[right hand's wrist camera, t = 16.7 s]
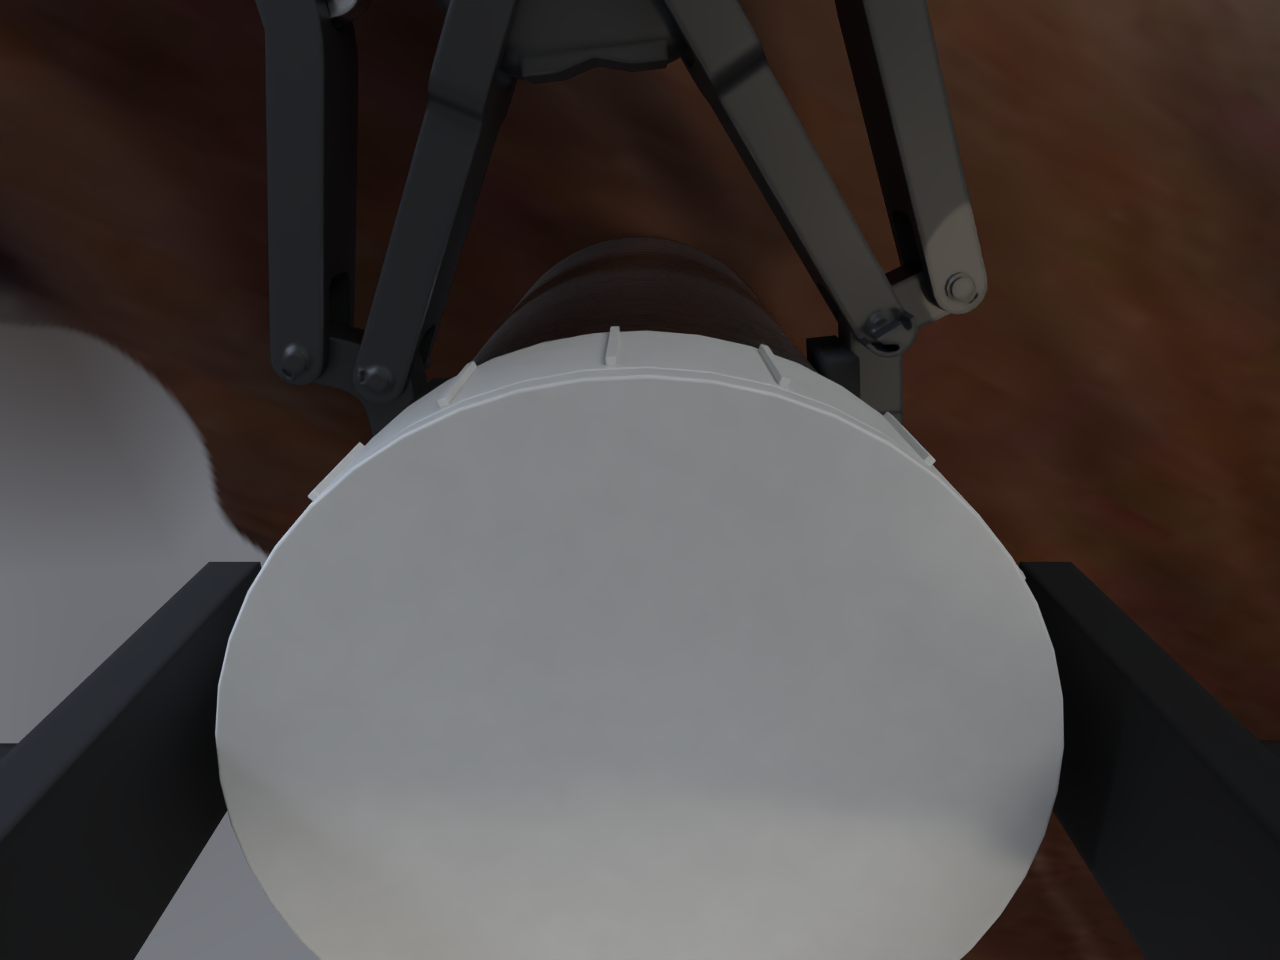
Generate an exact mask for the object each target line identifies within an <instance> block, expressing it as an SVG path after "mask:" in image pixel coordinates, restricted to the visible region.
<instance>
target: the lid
mask: <svg viewBox="0 0 1280 960" xmlns="http://www.w3.org/2000/svg"><path fill="white" fill-rule="evenodd" d="M934 462H935V459H934V458H933V457H932V456H931V455H930V454H929V453H928V452H927V451H926V450H925V449H924V448H923V447H922V446H921V445H920V444H919V443H918V441H917V440H916V439H915V438H914V437H913V436H912V435H911V434H910V433H909V432H908V431H907V430H906V429H905V428H904V427H903V426H902V425H901V424H900V423H899V422H898V421H897V420H896V419H895V418H894V416H892V415H891V414H890V413H889V412H886V413H885V414H884V416H883V415H882V414H880V413H879V412H877V411H876V410H875V409H873V408H872V407H870V406H869V405H868V404H866V403H865V402H863V401H862V400H861V399H859V398H858V397H856V396H855V395H854V394H852V393H851V392H849V391H848V390H847V389H845V388H844V387H842V386H841V385H839V384H837V383H835V382H833V381H831V380H829V379H827V378H825V377H823V376H821V375H820V374H818V373H816V372H814V371H812V370H810V369H808V368H806V367H804V366H802V365H800V364H798V363H796V362H793V361H790V360H788V359H785V358H782V357H779V356H776V355H774V354H773V353H772V351H771V350H770V348H769V347H768V346H766V345H763V344H760V347H759V349H757V348H754V347H751V346H748V345H743V344H739V343H734V342H730V341H725V340H720V339H716V338H711V337H706V336H702V335H694V334H682V333H670V332H658V331H628V332H620V329H619V326H612V327H610V332H607V333H592V334H586V335H581V336H575V337H570V338H564V339H559V340H553V341H548V342H542V343H539V344H536V345H533V346H530V347H527V348H524V349H521V350H518V351H515V352H511V353H508V354H505V355H502V356H499V357H496V358H493V359H491V360H489V361H487V362H485V363H483V364H481V365H478V366H476V364H475V362H474V361H472V362H470V363H468V364H466V366H465V367H464V368H463V369H462V371H461V372H460V373H459V374H458V375H457V376H456V377H453V378H451V379H449V380H447V381H446V382H444V383H443V384H441V385H440V386H438V387H437V388H435V389H434V390H432V391H431V392H429V393H428V394H426V395H425V396H423V397H422V398H420V399H419V400H417V401H416V402H414V403H413V404H411V405H410V406H408V407H407V408H406V409H405V410H403V411H402V412H401V413H400V414H399V415H398V416H397V417H396V418H394V419H393V420H392V421H391V422H390V423H389V424H388V425H387V426H385V427H384V428H383V429H382V430H381V431H380V432H379V433H378V434H376V435H375V436H374V437H373V438H372V439H371V440H370V441H369V442H368V443H367V444H366V445H365V446H364V445H363V444H362V443H360V442H359V443H358V444H357V445H356V446H355V447H354V448H353V449H352V450H351V451H350V453H349V454H348V455H347V456H346V457H345V458H344V459H343V460H342V461H341V462H340V463H339V464H338V465H337V466H336V467H335V468H334V469H333V470H332V471H331V472H330V473H329V474H328V475H327V476H326V477H325V478H324V479H323V480H322V481H321V482H320V484H319V485H318V486H317V487H316V488H315V489H314V490H313V491H312V492H311V493H310V494H309V495H308V497H309V498H310V499H311V500H312V501H313V502H312V503H311V504H310V505H309V506H308V508H307V509H306V510H305V511H304V512H303V514H302V515H301V516H300V517H299V518H298V519H297V521H296V522H295V523H294V524H293V525H292V527H291V528H290V529H289V530H288V531H287V533H286V534H285V535H284V536H283V537H282V539H281V540H280V541H279V542H278V543H277V545H276V546H275V547H274V549H273V550H272V552H271V554H270V555H269V557H268V559H267V560H266V562H265V564H264V565H263V567H262V569H261V570H260V572H259V574H258V575H257V577H256V579H255V580H254V582H253V584H252V585H251V587H250V588H249V590H248V592H247V594H246V597H245V599H244V602H243V604H242V607H241V609H240V612H239V614H238V617H237V619H236V622H235V624H234V627H233V629H232V632H231V634H230V637H229V640H228V644H227V649H226V653H225V657H224V662H223V666H222V671H221V675H220V680H219V684H218V696H217V713H216V729H215V737H216V747H217V758H218V768H219V778H220V783H221V787H222V791H223V795H224V799H225V803H226V806H227V810H228V814H229V818H230V822H231V825H232V828H233V830H234V832H235V835H236V837H237V839H238V842H239V844H240V847H241V849H242V851H243V854H244V856H245V858H246V861H247V863H248V865H249V867H250V869H251V871H252V872H253V874H254V876H255V877H256V879H257V881H258V882H259V884H260V886H261V887H262V889H263V891H264V892H265V894H266V896H267V897H268V899H269V901H270V902H271V904H272V905H273V907H274V908H275V909H276V911H277V912H278V913H279V914H280V916H281V917H282V918H283V919H284V921H285V922H286V923H287V924H288V926H289V927H290V928H291V929H292V931H293V932H294V933H295V934H296V936H297V937H298V938H299V939H300V941H301V942H302V943H303V944H304V945H305V946H306V947H308V948H309V949H310V950H311V951H312V952H313V953H314V954H315V955H316V956H317V957H318V958H319V959H320V960H960V959H961V958H962V957H963V956H964V955H965V954H966V953H968V952H969V951H970V950H971V949H972V948H973V946H974V945H975V944H976V943H977V942H978V941H979V939H980V938H981V937H982V936H983V935H984V934H985V932H986V931H987V930H988V929H989V928H990V926H991V925H992V924H993V923H994V922H995V921H996V919H997V918H998V917H999V916H1000V915H1001V913H1002V912H1003V910H1004V909H1005V907H1006V906H1007V904H1008V902H1009V901H1010V899H1011V898H1012V896H1013V895H1014V893H1015V892H1016V890H1017V889H1018V887H1019V886H1020V884H1021V882H1022V881H1023V879H1024V878H1025V876H1026V874H1027V872H1028V870H1029V868H1030V865H1031V863H1032V861H1033V859H1034V857H1035V855H1036V853H1037V850H1038V848H1039V846H1040V844H1041V842H1042V840H1043V838H1044V835H1045V832H1046V829H1047V826H1048V822H1049V819H1050V816H1051V812H1052V809H1053V805H1054V802H1055V799H1056V795H1057V792H1058V785H1059V778H1060V771H1061V764H1062V757H1063V749H1064V724H1063V695H1062V690H1061V684H1060V679H1059V673H1058V668H1057V663H1056V657H1055V652H1054V648H1053V645H1052V642H1051V640H1050V637H1049V634H1048V631H1047V628H1046V626H1045V623H1044V620H1043V617H1042V614H1041V612H1040V609H1039V606H1038V603H1037V601H1036V600H1035V598H1034V596H1033V594H1032V592H1031V591H1030V589H1029V587H1028V585H1027V583H1026V581H1025V579H1026V578H1025V576H1024V573H1023V572H1022V571H1021V570H1020V568H1019V567H1018V566H1017V565H1016V563H1015V561H1014V560H1013V558H1012V557H1011V555H1010V554H1009V553H1008V551H1007V550H1006V549H1005V547H1004V546H1003V545H1002V544H1001V542H1000V541H999V540H998V538H997V537H996V536H995V535H994V533H993V532H992V531H991V529H990V528H989V527H988V526H987V524H986V523H985V522H984V520H983V519H982V518H981V516H980V515H979V514H978V513H977V512H976V511H975V510H974V509H973V508H972V507H971V506H970V505H969V504H968V502H967V501H966V500H965V499H964V498H963V497H962V496H961V495H960V494H959V493H958V492H957V491H956V490H955V488H954V487H953V486H952V485H951V484H950V483H949V482H948V481H947V480H946V479H945V478H944V477H943V476H942V475H941V473H940V472H939V471H938V470H937V469H936V468H935V467H934V466H933V465H932V464H933V463H934Z"/></svg>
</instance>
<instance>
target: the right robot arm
mask: <svg viewBox="0 0 1280 960" xmlns="http://www.w3.org/2000/svg"><path fill="white" fill-rule="evenodd" d="M1019 568H1020V570H1021V571H1022V572H1023V573H1024V576H1025V578H1026V579H1025V581H1026V583H1027V585H1028V587H1029V589H1030V591H1031V592H1032V594H1033V596H1034V598H1035V600H1036V601H1037V603H1038V606H1039V609H1040V612H1041V614H1042V617H1043V620H1044V623H1045V626H1046V628H1047V631H1048V634H1049V637H1050V640H1051V642H1052V645H1053V648H1054V652H1055V657H1056V663H1057V668H1058V673H1059V679H1060V684H1061V690H1062V695H1063V724H1064V749H1063V757H1062V764H1061V771H1060V778H1059V785H1058V792H1057V795H1056V799H1055V802H1054V805H1053V809H1052V810H1053V812H1054V813H1055V815H1056V816H1057V818H1058V820H1059V821H1060V823H1061V824H1062V826H1063V828H1064V829H1065V831H1066V832H1067V834H1068V836H1069V837H1070V839H1071V840H1072V842H1073V844H1074V845H1075V847H1076V848H1077V850H1078V852H1079V853H1080V855H1081V856H1082V858H1083V860H1084V861H1085V863H1086V864H1087V866H1088V867H1089V869H1090V871H1091V872H1092V874H1093V875H1094V877H1095V879H1096V880H1097V882H1098V883H1099V885H1100V887H1101V888H1102V890H1103V891H1104V893H1105V895H1106V896H1107V898H1108V899H1109V901H1110V903H1111V904H1112V906H1113V907H1114V909H1115V911H1116V912H1117V914H1118V915H1119V917H1120V918H1121V920H1122V922H1123V923H1124V925H1125V926H1126V928H1127V930H1128V931H1129V933H1130V934H1131V936H1132V938H1133V939H1134V941H1135V942H1136V944H1137V946H1138V947H1139V949H1140V950H1141V952H1142V954H1143V955H1144V957H1145V958H1146V960H1280V741H1259V740H1258V739H1257V738H1256V737H1255V736H1254V735H1252V734H1251V733H1250V732H1249V731H1248V730H1247V729H1246V728H1245V727H1244V726H1243V725H1242V724H1241V723H1240V722H1239V721H1238V720H1237V719H1236V718H1235V717H1234V716H1232V715H1231V714H1230V713H1229V712H1228V711H1227V710H1226V709H1225V708H1224V707H1223V706H1222V705H1221V704H1220V703H1219V702H1218V701H1217V700H1216V699H1215V698H1214V697H1213V696H1211V695H1210V694H1209V693H1208V692H1207V691H1206V690H1205V689H1204V688H1203V687H1202V686H1201V685H1200V684H1199V683H1198V682H1197V681H1196V680H1195V679H1194V678H1193V677H1191V676H1190V675H1189V674H1188V673H1187V672H1186V671H1185V670H1184V669H1183V668H1182V667H1181V666H1180V665H1179V664H1178V663H1177V662H1176V661H1175V660H1174V659H1173V658H1171V657H1170V656H1169V655H1168V654H1167V653H1166V652H1165V651H1164V650H1163V649H1162V648H1161V647H1160V646H1159V645H1158V644H1157V643H1156V642H1155V641H1154V640H1153V639H1151V638H1150V637H1149V636H1148V635H1147V634H1146V633H1145V632H1144V631H1143V630H1142V629H1141V628H1140V627H1139V626H1138V625H1137V624H1136V623H1135V622H1134V621H1133V620H1131V619H1130V618H1129V617H1128V616H1127V615H1126V614H1125V613H1124V612H1123V611H1122V610H1121V609H1120V608H1119V607H1118V606H1117V605H1116V604H1115V603H1114V602H1113V601H1111V600H1110V599H1109V598H1108V597H1107V596H1106V595H1105V594H1104V593H1103V592H1102V591H1101V590H1100V589H1099V588H1098V587H1097V586H1096V585H1095V584H1094V583H1093V582H1091V581H1090V580H1089V579H1088V578H1087V577H1086V576H1085V575H1084V574H1083V573H1082V572H1081V571H1080V570H1079V569H1078V568H1077V567H1076V566H1075V565H1074V564H1073V563H1071V562H1020V564H1019ZM260 570H261V564H260V562H209V563H208V564H206V565H205V566H204V567H203V568H202V569H201V570H200V571H199V572H198V573H197V574H196V575H195V576H194V577H193V578H192V579H191V580H190V581H189V582H187V583H186V584H185V585H184V586H183V587H182V588H181V589H180V590H179V591H178V592H177V593H176V594H175V595H174V596H173V597H172V598H171V599H170V600H169V601H168V602H167V603H165V604H164V605H163V606H162V607H161V608H160V609H159V610H158V611H157V612H156V613H155V614H154V615H153V616H152V617H151V618H150V619H149V620H147V621H146V622H145V623H144V624H143V625H142V626H141V627H140V628H139V629H138V630H137V631H136V632H135V633H134V634H133V635H132V636H131V637H130V638H129V639H127V640H126V641H125V642H124V643H123V644H122V645H121V646H120V647H119V648H118V649H117V650H116V651H115V652H114V653H113V654H112V655H111V656H110V657H109V658H108V659H106V660H105V661H104V662H103V663H102V664H101V665H100V666H99V667H98V668H97V669H96V670H95V671H94V672H93V673H92V674H91V675H90V676H89V677H87V678H86V679H85V680H84V681H83V682H82V683H81V684H80V685H79V686H78V687H77V688H76V689H75V690H74V691H73V692H72V693H71V694H70V695H69V696H68V697H66V698H65V699H64V700H63V701H62V702H61V703H60V704H59V705H58V706H57V707H56V708H55V709H54V710H53V711H52V712H51V713H50V714H49V715H48V716H46V717H45V718H44V719H43V720H42V721H41V722H40V723H39V724H38V725H37V726H36V727H35V728H34V729H33V730H32V731H31V732H30V733H29V734H28V735H26V736H25V737H24V738H23V739H22V740H21V741H20V742H19V743H16V744H15V743H13V744H12V743H9V744H6V743H1V744H0V960H134V958H135V957H136V955H137V954H138V952H139V950H140V949H141V947H142V946H143V944H144V942H145V941H146V939H147V938H148V936H149V934H150V933H151V931H152V930H153V928H154V926H155V925H156V923H157V922H158V920H159V918H160V917H161V915H162V914H163V912H164V911H165V909H166V907H167V906H168V904H169V903H170V901H171V899H172V898H173V896H174V894H175V893H176V891H177V890H178V888H179V887H180V885H181V883H182V882H183V880H184V879H185V877H186V875H187V874H188V872H189V871H190V869H191V867H192V866H193V864H194V863H195V861H196V859H197V858H198V856H199V855H200V853H201V852H202V850H203V848H204V847H205V845H206V844H207V842H208V840H209V839H210V837H211V836H212V834H213V832H214V831H215V829H216V828H217V826H218V824H219V823H220V821H221V820H222V818H223V816H224V815H225V813H226V812H227V806H226V803H225V799H224V795H223V791H222V787H221V783H220V778H219V768H218V758H217V747H216V737H215V729H216V713H217V696H218V684H219V680H220V675H221V671H222V666H223V662H224V657H225V653H226V649H227V644H228V640H229V637H230V634H231V632H232V629H233V627H234V624H235V622H236V619H237V617H238V614H239V612H240V609H241V607H242V604H243V602H244V599H245V597H246V594H247V592H248V590H249V588H250V587H251V585H252V584H253V582H254V580H255V579H256V577H257V575H258V574H259V572H260Z"/></svg>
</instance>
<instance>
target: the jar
mask: <svg viewBox="0 0 1280 960" xmlns="http://www.w3.org/2000/svg"><path fill="white" fill-rule="evenodd" d="M612 326H619V329H620V332H628V331H658V332H670V333H682V334H694V335H702V336H706V337H711V338H716V339H720V340H725V341H730V342H734V343H739V344H743V345H748V346H751V347H754V348H757V349H759V347H760V344H763V345H766V346H768V347H769V348H770V350H771V351H772V353H773V354H774V355H776V356H779V357H782V358H785V359H788V360H790V361H793V362H796V363H798V364H800V365H802V366H804V367H806V368H808V369H810V370H812V371H814V372H816V373H817V371H816V370H815V369H814V368H813V366H812V365H811V364H810V363H809V361H808V360H807V359H806V358H805V356H804V355H803V354H802V353H801V351H800V350H799V349H798V348H797V347H796V345H795V344H794V343H793V342H792V340H791V339H790V338H789V337H788V335H787V334H786V333H785V332H784V330H783V329H782V328H781V327H780V325H779V324H778V323H777V322H776V320H775V319H774V318H773V317H772V315H771V314H770V313H769V312H768V311H767V309H766V308H765V307H764V306H763V304H762V303H761V302H760V301H759V299H758V298H757V297H756V296H755V294H754V293H753V292H752V291H751V289H750V288H749V287H748V286H747V285H746V284H745V283H744V282H743V281H742V280H741V279H740V278H739V277H738V276H737V274H735V273H734V272H733V271H732V270H730V269H729V268H728V267H727V266H725V265H724V264H723V263H722V262H720V261H718V260H717V259H715V258H713V257H712V256H710V255H708V254H707V253H705V252H703V251H700V250H698V249H696V248H693V247H691V246H689V245H686V244H682V243H679V242H675V241H671V240H667V239H659V238H652V237H628V238H621V239H613V240H608V241H605V242H601V243H598V244H594V245H591V246H589V247H586V248H584V249H582V250H580V251H577V252H575V253H573V254H571V255H570V256H568V257H566V258H565V259H563V260H562V261H560V262H558V263H557V264H556V265H554V266H553V267H552V268H551V269H549V270H548V271H547V272H546V273H545V274H543V275H542V276H541V277H540V278H539V280H538V281H537V282H536V283H535V284H534V285H533V286H532V287H531V288H530V289H529V291H528V292H527V293H526V294H525V295H524V297H523V298H522V299H521V300H520V302H519V303H518V304H517V305H516V307H515V308H514V309H513V310H512V312H511V313H510V314H509V315H508V317H507V318H506V319H505V320H504V321H503V323H502V324H501V325H500V326H499V328H498V329H497V330H496V331H495V333H494V334H493V335H492V336H491V338H490V339H489V340H488V341H487V343H486V344H485V345H484V346H483V347H482V349H481V350H480V351H479V352H478V354H477V355H476V356H475V357H474V359H473V360H472V361H474V362H475V364H476V366H478V365H481V364H483V363H485V362H487V361H489V360H491V359H493V358H496V357H499V356H502V355H505V354H508V353H511V352H515V351H518V350H521V349H524V348H527V347H530V346H533V345H536V344H539V343H542V342H548V341H553V340H559V339H564V338H570V337H575V336H581V335H586V334H592V333H607V332H610V327H612ZM472 361H471V362H472Z"/></svg>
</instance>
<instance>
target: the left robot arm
mask: <svg viewBox="0 0 1280 960" xmlns="http://www.w3.org/2000/svg"><path fill="white" fill-rule="evenodd" d="M433 1H434V2H435V3H436V4H437V5H438V7H439V8H440V9H441V10H442V11H443V12H444V13H445V15H446V18H445V22H444V25H443V29H442V33H441V36H440V40H439V44H438V47H437V51H436V55H435V58H434V62H433V65H432V69H431V73H430V77H429V81H428V89H427V95H428V102H427V108H426V112H425V115H424V119H423V123H422V126H421V130H420V133H419V137H418V141H417V144H416V148H415V151H414V155H413V159H412V162H411V166H410V170H409V173H408V177H407V180H406V184H405V188H404V191H403V195H402V198H401V202H400V206H399V209H398V213H397V216H396V220H395V224H394V227H393V231H392V234H391V238H390V242H389V245H388V249H387V252H386V256H385V260H384V263H383V267H382V270H381V274H380V278H379V281H378V285H377V288H376V292H375V296H374V299H373V303H372V306H371V310H370V314H369V317H368V321H367V324H366V328H365V330H363V329H358V328H354V298H355V237H356V176H357V114H358V56H357V46H356V39H355V32H354V27H353V23H352V21H354V20H356V19H358V18H360V17H361V16H362V15H364V14H365V13H366V11H367V9H368V7H369V6H370V2H371V0H255V2H256V5H257V8H258V11H259V14H260V17H261V20H262V23H263V26H264V29H265V72H266V133H267V193H268V254H269V315H270V359H271V363H272V368H273V369H274V371H275V372H276V374H277V375H278V376H279V377H280V378H281V379H282V380H284V381H285V382H286V383H289V384H293V385H296V386H300V385H308V384H309V383H311V382H312V383H316V384H320V385H325V386H329V387H333V388H337V389H341V390H344V391H347V392H349V393H350V394H352V395H354V396H355V397H356V398H357V399H358V400H359V401H360V402H361V403H362V405H363V406H364V408H365V409H366V412H367V415H368V418H369V423H370V427H371V432H372V436H373V437H374V436H375V435H376V434H378V433H379V432H380V431H381V430H382V429H383V428H384V427H385V426H387V425H388V424H389V423H390V422H391V421H392V420H393V419H394V418H396V417H397V416H398V415H399V414H400V413H401V412H402V411H403V410H405V409H406V408H407V407H408V406H410V405H411V404H413V403H414V402H416V401H417V400H419V399H420V398H422V397H423V396H425V395H426V394H428V393H429V392H431V391H432V390H434V389H435V388H437V387H438V386H440V385H441V384H443V383H444V382H446V381H447V380H449V379H451V378H453V377H446V378H437V379H431V380H430V381H429V382H428V383H427V381H426V376H425V370H426V369H427V368H428V367H429V365H430V364H431V362H432V360H433V359H431V358H429V356H430V353H431V350H432V346H433V343H434V340H435V337H436V333H437V330H438V327H439V323H440V320H441V317H442V314H443V310H444V307H445V304H446V301H447V297H448V294H449V291H450V287H451V284H452V281H453V278H454V274H455V271H456V268H457V265H458V261H459V258H460V255H461V251H462V248H463V245H464V242H465V238H466V235H467V232H468V229H469V225H470V222H471V219H472V216H473V212H474V209H475V206H476V202H477V199H478V196H479V193H480V189H481V186H482V183H483V180H484V176H485V173H486V170H487V166H488V163H489V160H490V157H491V153H492V150H493V147H494V144H495V140H496V137H497V134H498V131H499V128H500V126H501V124H502V122H503V120H504V118H505V116H506V114H507V111H508V108H509V105H510V102H511V99H512V95H513V92H514V89H515V86H516V82H517V79H518V78H519V79H523V80H527V81H529V82H530V83H532V84H537V83H545V82H554V81H562V80H567V79H569V78H571V77H574V76H576V75H578V74H581V73H583V72H585V71H588V70H590V69H592V68H595V67H606V68H612V69H618V70H624V71H630V72H637V71H645V70H653V69H662V68H666V65H667V64H668V63H670V62H673V61H675V60H676V59H678V58H681V59H682V61H683V63H684V64H685V66H686V68H687V69H688V71H689V73H690V75H691V76H692V78H693V80H694V81H695V83H696V85H697V86H698V88H699V90H700V91H701V93H702V94H703V96H704V97H705V98H706V99H707V101H708V102H709V104H710V105H711V107H712V108H713V110H714V112H715V114H716V115H717V117H718V119H719V120H720V122H721V124H722V126H723V127H724V129H725V131H726V132H727V134H728V136H729V137H730V139H731V141H732V143H733V144H734V146H735V148H736V149H737V151H738V153H739V155H740V156H741V158H742V160H743V161H744V163H745V165H746V167H747V168H748V170H749V172H750V173H751V175H752V177H753V178H754V180H755V182H756V184H757V185H758V187H759V189H760V190H761V192H762V194H763V196H764V197H765V199H766V201H767V202H768V204H769V206H770V208H771V209H772V211H773V213H774V214H775V216H776V218H777V219H778V221H779V223H780V225H781V226H782V228H783V230H784V231H785V233H786V235H787V237H788V238H789V240H790V242H791V243H792V245H793V247H794V249H795V250H796V252H797V254H798V255H799V257H800V259H801V261H802V262H803V264H804V266H805V267H806V269H807V271H808V272H809V274H810V276H811V278H812V279H813V281H814V283H815V284H816V286H817V288H818V290H819V291H820V293H821V295H822V296H823V298H824V300H825V302H826V303H827V305H828V307H829V308H830V310H831V312H832V313H833V315H834V317H835V319H836V320H837V322H838V333H839V338H838V337H836V336H835V335H834V336H825V337H816V338H807V339H806V344H807V360H808V361H809V363H810V364H811V365H812V366H813V368H814V369H815V370H816V371H817V373H818V374H820V375H821V376H823V377H825V378H827V379H829V380H831V381H833V382H835V383H837V384H839V385H841V386H842V387H844V388H845V389H847V390H848V391H849V392H851V393H852V394H854V395H855V396H856V397H858V398H859V399H861V400H862V401H863V402H865V403H866V404H868V405H869V406H870V407H872V408H873V409H875V410H876V411H877V412H879V413H880V414H882V415H883V416H884V414H885V413H886V412H889V413H890V414H891V415H892V416H894V418H895V419H896V420H897V421H898V422H899V423H900V424H901V425H902V426H903V415H902V411H903V402H902V356H903V353H904V352H905V351H907V350H908V349H909V348H910V347H911V346H912V344H913V342H914V340H915V338H916V336H917V330H918V329H920V328H921V327H923V326H925V325H927V324H929V323H931V322H933V321H935V320H937V319H940V318H942V317H944V316H946V315H948V314H950V313H953V314H962V313H967V312H969V311H971V310H972V309H974V308H976V307H977V306H978V305H979V303H980V302H981V301H982V300H983V299H984V296H985V293H986V291H987V276H986V272H985V267H984V263H983V258H982V253H981V249H980V244H979V240H978V235H977V231H976V226H975V222H974V217H973V213H972V208H971V204H970V199H969V195H968V190H967V185H966V181H965V176H964V172H963V167H962V163H961V158H960V154H959V149H958V145H957V140H956V136H955V131H954V127H953V122H952V117H951V113H950V108H949V104H948V99H947V95H946V90H945V86H944V81H943V77H942V72H941V68H940V63H939V59H938V54H937V49H936V45H935V40H934V36H933V31H932V27H931V22H930V18H929V13H928V9H927V4H926V0H835V4H836V9H837V14H838V18H839V22H840V26H841V30H842V34H843V38H844V42H845V46H846V50H847V54H848V58H849V62H850V66H851V70H852V74H853V78H854V82H855V86H856V90H857V94H858V98H859V102H860V106H861V110H862V114H863V118H864V122H865V126H866V129H867V133H868V137H869V141H870V145H871V149H872V153H873V157H874V161H875V165H876V169H877V173H878V177H879V181H880V185H881V189H882V193H883V197H884V201H885V205H886V209H887V213H888V217H889V221H890V225H891V229H892V233H893V236H894V240H895V244H896V248H897V252H898V256H899V260H900V264H901V266H900V267H898V268H896V269H894V270H892V271H890V272H888V273H886V274H884V272H883V270H882V268H881V266H880V265H879V263H878V261H877V259H876V257H875V256H874V254H873V252H872V250H871V248H870V247H869V245H868V243H867V241H866V240H865V238H864V236H863V234H862V232H861V231H860V229H859V227H858V225H857V223H856V222H855V220H854V218H853V216H852V214H851V213H850V211H849V209H848V207H847V205H846V204H845V202H844V200H843V198H842V196H841V195H840V193H839V191H838V189H837V187H836V186H835V184H834V182H833V180H832V178H831V177H830V175H829V173H828V171H827V169H826V168H825V166H824V164H823V162H822V160H821V159H820V157H819V155H818V153H817V151H816V150H815V148H814V146H813V144H812V142H811V141H810V139H809V137H808V135H807V134H806V132H805V130H804V128H803V126H802V125H801V123H800V121H799V119H798V117H797V116H796V114H795V112H794V110H793V108H792V107H791V105H790V103H789V101H788V99H787V98H786V96H785V94H784V92H783V90H782V89H781V87H780V85H779V83H778V81H777V80H776V78H775V76H774V74H773V72H772V71H771V69H770V67H769V65H768V63H767V60H766V57H765V54H764V51H763V48H762V46H761V43H760V41H759V39H758V37H757V35H756V34H755V32H754V30H753V28H752V26H751V24H750V23H749V21H748V19H747V17H746V15H745V14H744V12H743V10H742V8H741V6H740V5H739V3H738V1H737V0H433ZM455 377H456V376H455Z"/></svg>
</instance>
